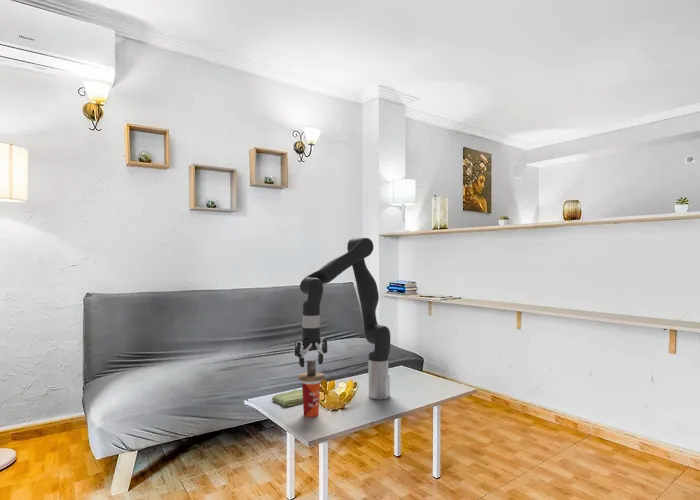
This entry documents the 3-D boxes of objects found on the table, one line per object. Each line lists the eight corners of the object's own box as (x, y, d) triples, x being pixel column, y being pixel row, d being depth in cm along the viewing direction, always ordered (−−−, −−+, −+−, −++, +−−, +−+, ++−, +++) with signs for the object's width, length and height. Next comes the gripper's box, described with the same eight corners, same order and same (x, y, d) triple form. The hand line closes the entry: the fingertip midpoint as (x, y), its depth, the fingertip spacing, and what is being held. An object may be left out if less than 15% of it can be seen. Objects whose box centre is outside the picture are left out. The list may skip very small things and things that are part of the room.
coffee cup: (313, 419, 166) (313, 381, 167) (296, 415, 170) (297, 378, 171) (325, 413, 173) (325, 376, 174) (309, 409, 178) (309, 374, 178)
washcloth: (318, 400, 191) (318, 393, 191) (285, 409, 179) (285, 401, 179) (302, 393, 201) (302, 386, 201) (270, 401, 189) (270, 394, 189)
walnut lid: (329, 376, 175) (329, 359, 175) (316, 382, 165) (316, 365, 165) (306, 373, 180) (306, 356, 180) (292, 379, 170) (292, 362, 170)
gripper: (300, 328, 166) (300, 369, 165) (330, 325, 174) (330, 364, 174) (291, 326, 172) (291, 366, 171) (321, 323, 180) (321, 361, 180)
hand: (311, 365), depth 172 cm, fingers open, 8 cm apart
